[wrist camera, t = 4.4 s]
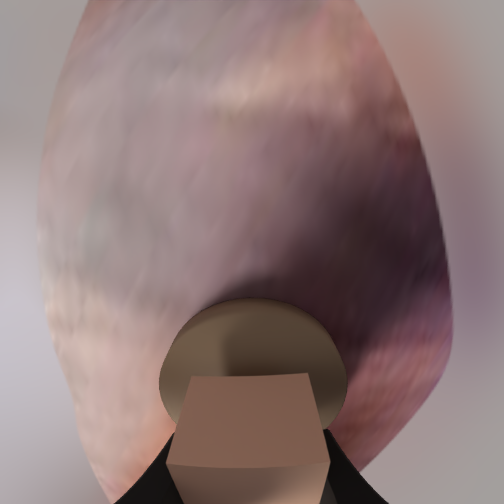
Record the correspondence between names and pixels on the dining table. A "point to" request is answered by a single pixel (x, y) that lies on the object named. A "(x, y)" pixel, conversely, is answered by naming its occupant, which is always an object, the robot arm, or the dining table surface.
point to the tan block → (249, 442)
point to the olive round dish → (254, 351)
